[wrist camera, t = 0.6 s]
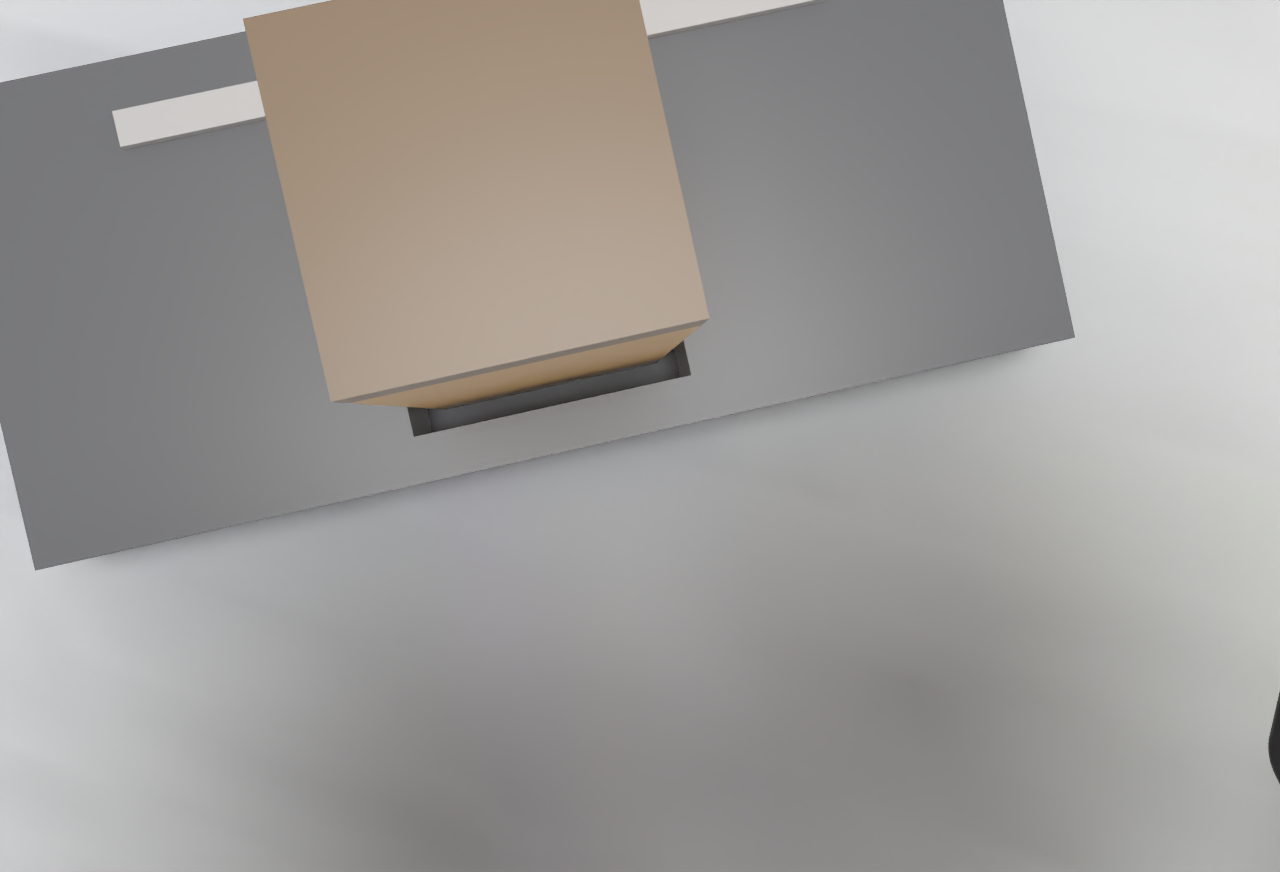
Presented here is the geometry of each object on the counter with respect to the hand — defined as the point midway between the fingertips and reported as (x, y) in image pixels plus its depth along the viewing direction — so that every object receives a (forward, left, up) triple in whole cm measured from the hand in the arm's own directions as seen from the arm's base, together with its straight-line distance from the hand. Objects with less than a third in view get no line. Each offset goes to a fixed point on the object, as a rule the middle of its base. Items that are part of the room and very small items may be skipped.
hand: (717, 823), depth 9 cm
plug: (+4, +5, -13) cm, 15 cm away
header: (+4, +5, -14) cm, 15 cm away
